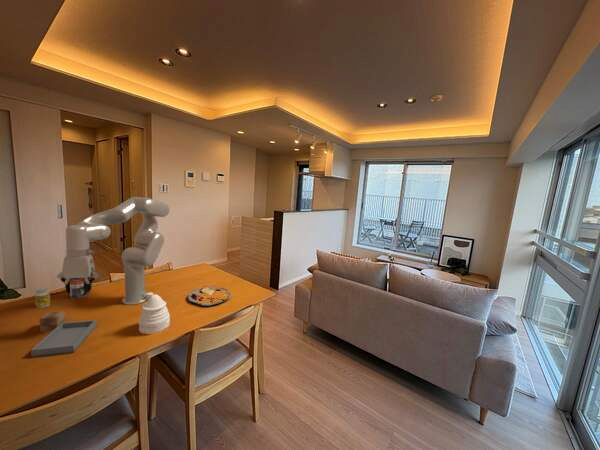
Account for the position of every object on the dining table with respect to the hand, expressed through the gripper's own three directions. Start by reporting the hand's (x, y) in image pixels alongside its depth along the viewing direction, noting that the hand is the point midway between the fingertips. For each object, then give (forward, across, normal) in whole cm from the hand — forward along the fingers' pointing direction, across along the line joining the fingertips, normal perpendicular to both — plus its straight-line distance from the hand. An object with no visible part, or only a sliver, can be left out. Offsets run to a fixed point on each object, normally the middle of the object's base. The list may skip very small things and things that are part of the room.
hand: (79, 291), depth 108 cm
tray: (+19, +1, +8) cm, 20 cm away
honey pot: (+18, -31, +3) cm, 36 cm away
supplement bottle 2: (+3, 0, 0) cm, 3 cm away
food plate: (+17, -55, -25) cm, 63 cm away
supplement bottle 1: (+18, +28, -27) cm, 43 cm away
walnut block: (+18, +12, -4) cm, 22 cm away
